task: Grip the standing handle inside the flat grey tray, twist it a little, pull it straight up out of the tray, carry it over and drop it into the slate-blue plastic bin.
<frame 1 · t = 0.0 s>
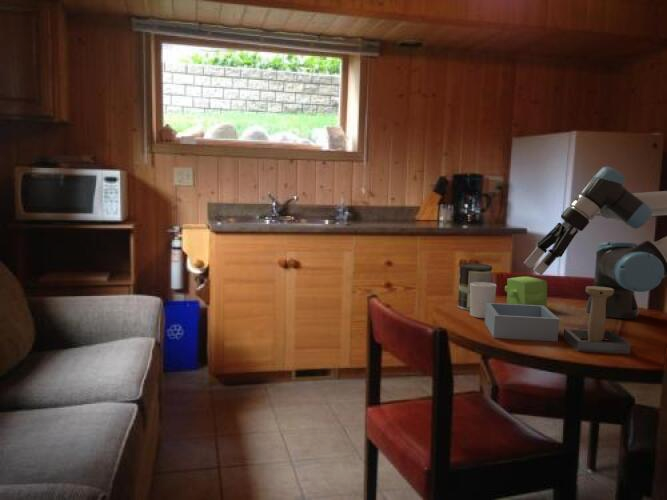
hand: (531, 269, 171), 15 cm above the table, tool tilted 35°, fingers open, 13 cm apart
bin: (519, 331, 157), on the table
gearbox: (522, 306, 191), on the table
handle: (594, 346, 146), resting in flat grey tray
flat grey tray: (594, 345, 146), on the table
coffee can: (473, 308, 186), on the table
white cup: (481, 316, 175), on the table
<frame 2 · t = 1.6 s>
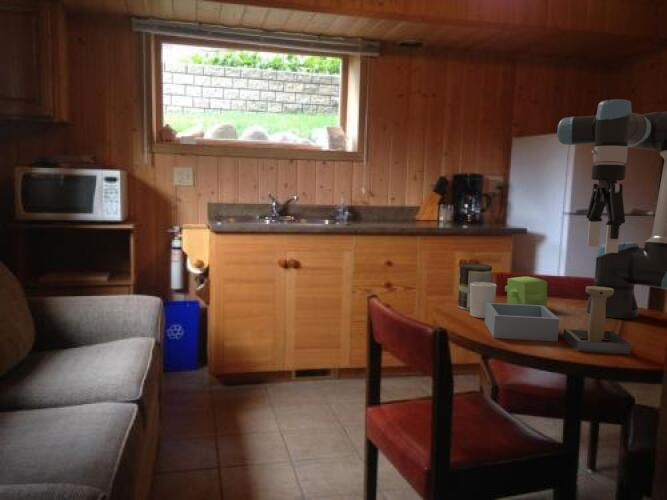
hand: (601, 249, 143), 25 cm above the table, tool pointing down, fingers open, 13 cm apart
nothing on the table moved.
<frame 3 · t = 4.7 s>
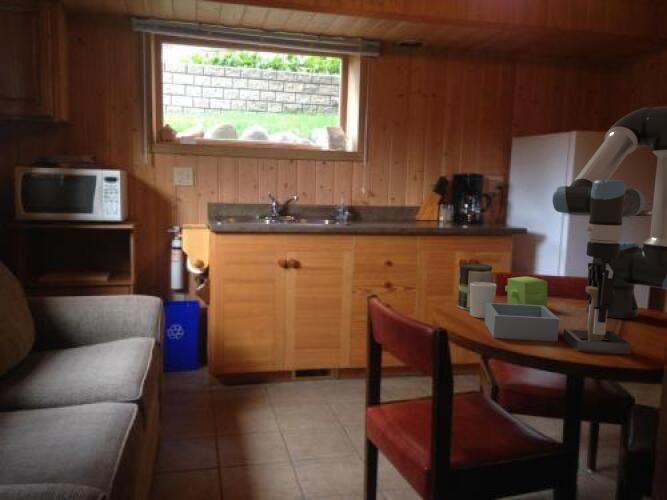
hand: (596, 331, 145), 4 cm above the table, tool pointing down, fingers closed on handle, 4 cm apart
handle: (594, 346, 146), resting in flat grey tray, touching gripper
everything else where it was.
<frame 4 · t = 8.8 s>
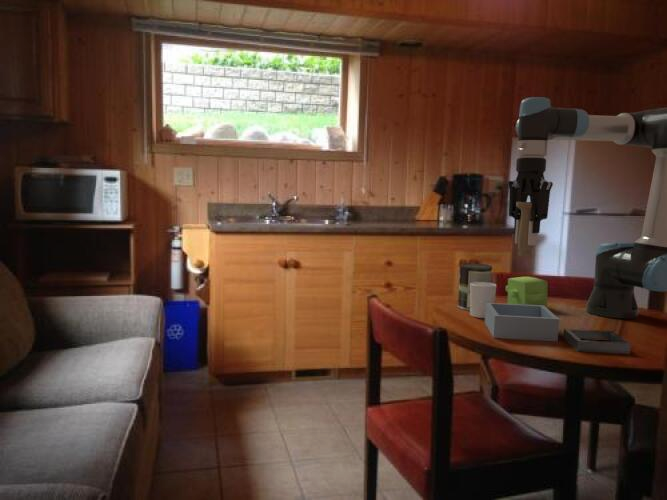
hand: (525, 243, 154), 25 cm above the table, tool pointing down, fingers closed on handle, 4 cm apart
handle: (524, 257, 155), point 21 cm above the table, touching gripper
everything else where it was.
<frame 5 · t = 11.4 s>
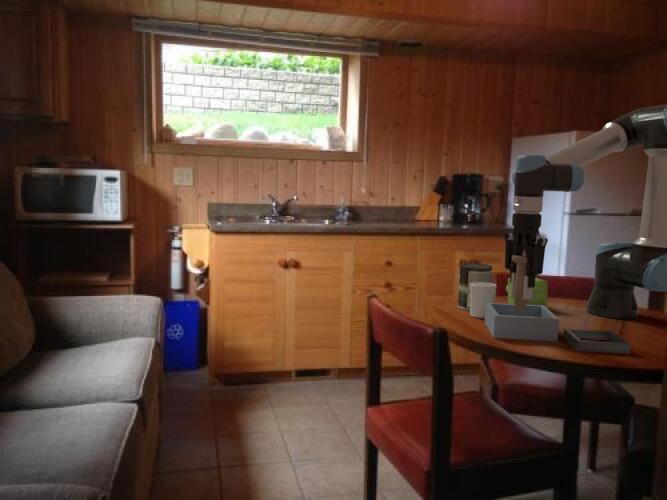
hand: (521, 297, 156), 10 cm above the table, tool pointing down, fingers closed on handle, 4 cm apart
handle: (519, 310, 157), point 6 cm above the table, touching gripper
everything else where it was.
when the fingers open (7 cm above the table, at t = 12.8 s): handle drops 2 cm, resting on bin.
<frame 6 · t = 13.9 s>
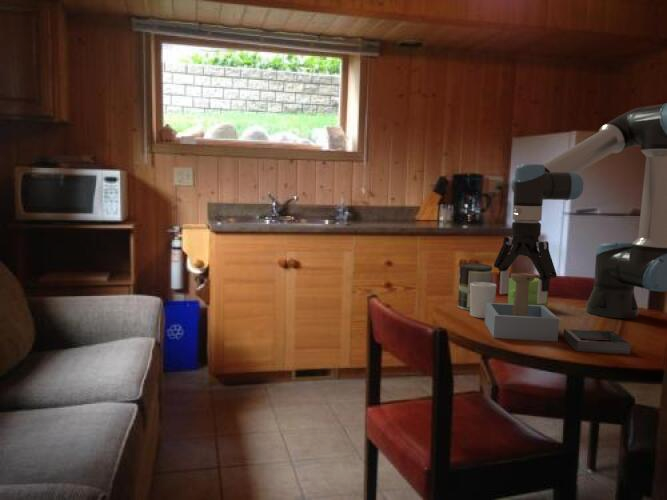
hand: (521, 298, 156), 9 cm above the table, tool pointing down, fingers open, 13 cm apart
handle: (519, 328, 157), point 1 cm above the table, touching bin
everything else where it was.
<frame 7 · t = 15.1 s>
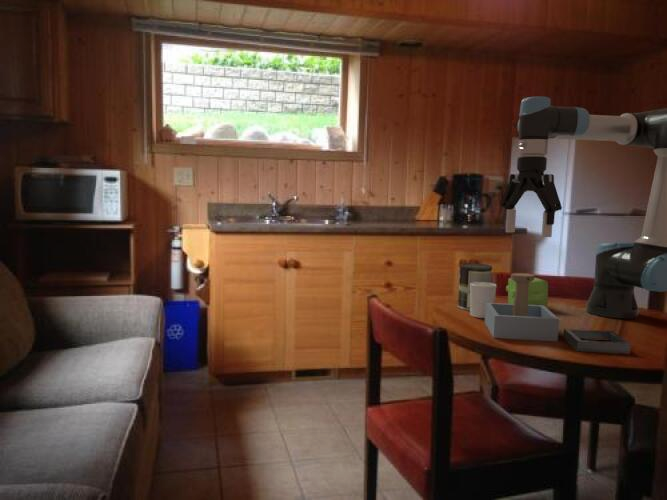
hand: (527, 234, 155), 27 cm above the table, tool pointing down, fingers open, 13 cm apart
nothing on the table moved.
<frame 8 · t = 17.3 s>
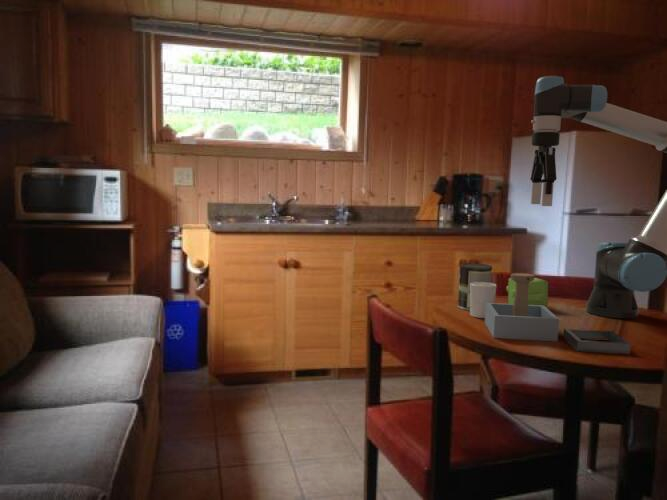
hand: (540, 205, 167), 35 cm above the table, tool pointing down, fingers open, 13 cm apart
nothing on the table moved.
at the end: handle inside the target area on the bin (0.0 cm from its centre), point 0.8 cm above the bin's base; the gripper is holding nothing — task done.
